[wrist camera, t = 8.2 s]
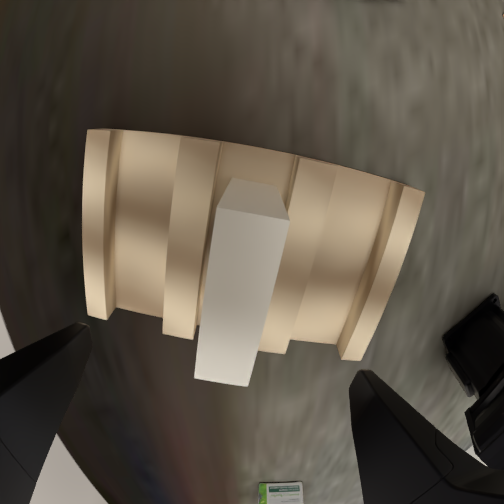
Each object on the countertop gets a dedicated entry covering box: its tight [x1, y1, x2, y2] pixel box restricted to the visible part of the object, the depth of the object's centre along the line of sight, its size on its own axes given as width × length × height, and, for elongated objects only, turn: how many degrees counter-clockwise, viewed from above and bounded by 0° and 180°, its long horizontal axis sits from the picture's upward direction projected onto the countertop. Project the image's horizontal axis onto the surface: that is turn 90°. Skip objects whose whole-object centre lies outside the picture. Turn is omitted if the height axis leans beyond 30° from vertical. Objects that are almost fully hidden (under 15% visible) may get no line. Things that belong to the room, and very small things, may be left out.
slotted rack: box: [82, 129, 425, 361], centre depth 18 cm, size 12×19×2 cm, turn 79°
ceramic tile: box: [194, 178, 290, 387], centre depth 15 cm, size 2×8×7 cm, turn 169°
